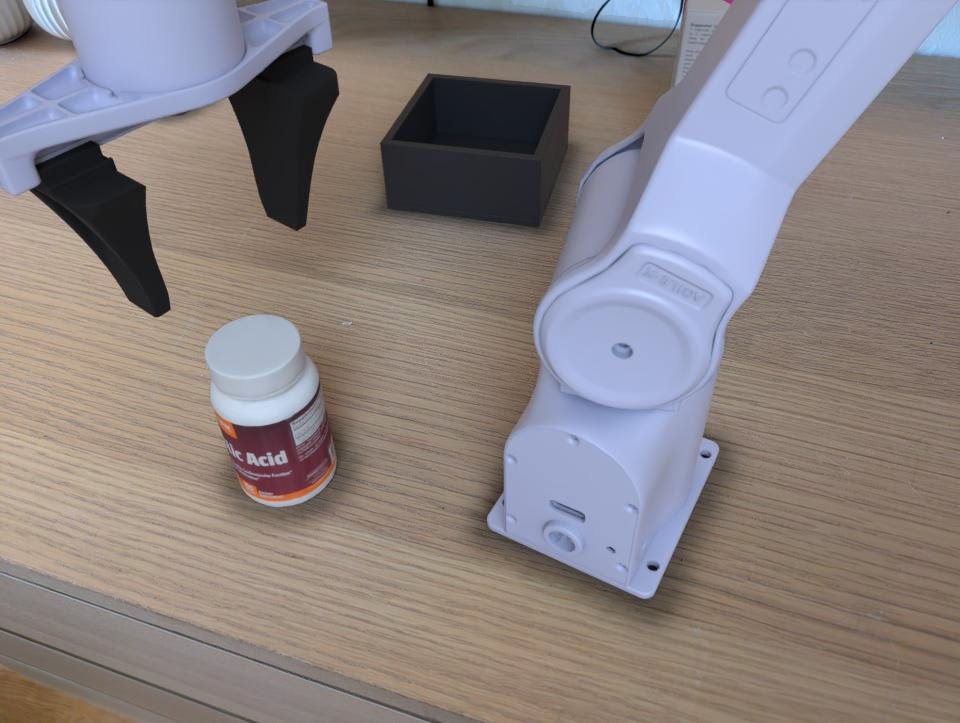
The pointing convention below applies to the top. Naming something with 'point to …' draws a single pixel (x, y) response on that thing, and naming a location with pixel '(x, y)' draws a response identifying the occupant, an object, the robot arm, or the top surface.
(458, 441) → the top surface
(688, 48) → the supplement box
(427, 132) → the open storage bin
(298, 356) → the pill bottle
